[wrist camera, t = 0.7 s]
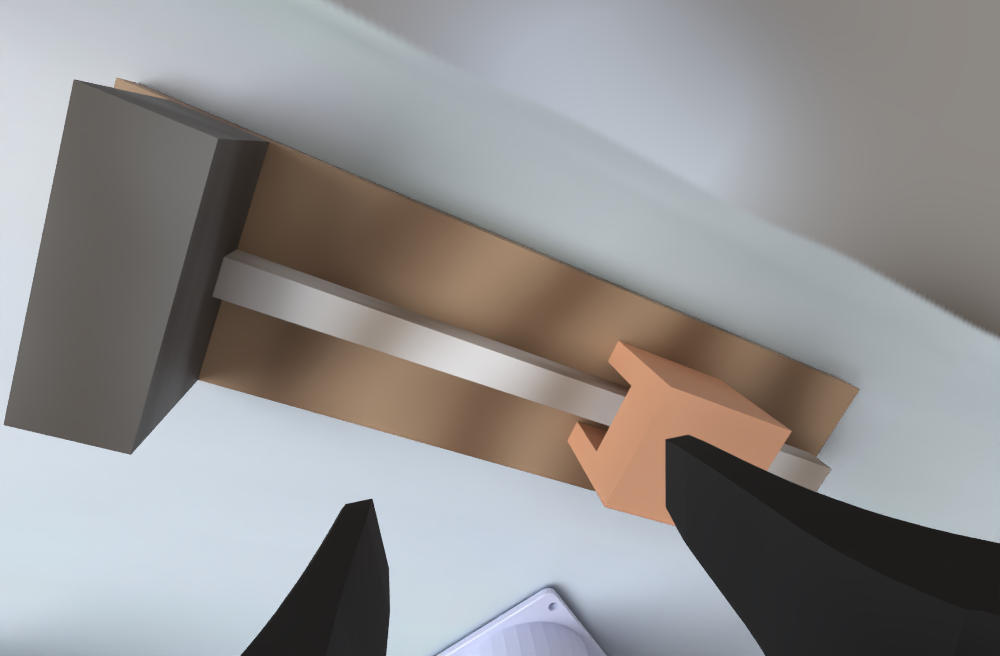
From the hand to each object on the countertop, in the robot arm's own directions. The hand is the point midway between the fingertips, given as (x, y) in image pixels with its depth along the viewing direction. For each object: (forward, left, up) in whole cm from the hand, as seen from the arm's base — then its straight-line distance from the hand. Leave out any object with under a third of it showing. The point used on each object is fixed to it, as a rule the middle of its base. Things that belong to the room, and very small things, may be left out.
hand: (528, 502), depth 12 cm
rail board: (-1, -1, -10) cm, 10 cm away
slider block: (-6, -5, -9) cm, 12 cm away
